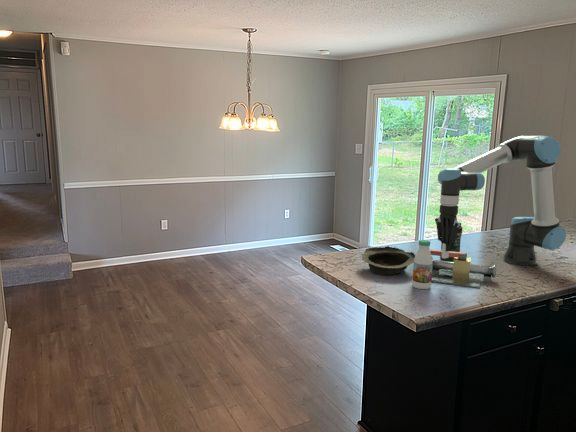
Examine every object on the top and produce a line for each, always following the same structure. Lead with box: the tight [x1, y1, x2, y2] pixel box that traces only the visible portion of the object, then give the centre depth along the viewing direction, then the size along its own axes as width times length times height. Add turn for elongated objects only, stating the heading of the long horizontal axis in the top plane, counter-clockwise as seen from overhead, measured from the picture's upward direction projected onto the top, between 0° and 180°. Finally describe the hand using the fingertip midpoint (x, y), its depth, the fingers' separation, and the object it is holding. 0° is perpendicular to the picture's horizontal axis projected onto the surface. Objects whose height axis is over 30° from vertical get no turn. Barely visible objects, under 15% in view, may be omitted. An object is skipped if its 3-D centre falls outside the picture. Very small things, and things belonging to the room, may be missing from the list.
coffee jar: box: [439, 225, 463, 262], centre depth 236 cm, size 10×8×19 cm
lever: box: [429, 248, 468, 260], centre depth 211 cm, size 16×4×2 cm, turn 71°
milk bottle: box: [411, 239, 434, 290], centre depth 196 cm, size 8×8×20 cm
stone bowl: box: [361, 245, 416, 276], centre depth 218 cm, size 25×25×9 cm
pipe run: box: [431, 257, 497, 289], centre depth 209 cm, size 32×22×8 cm
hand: (444, 257), depth 205 cm, fingers closed
